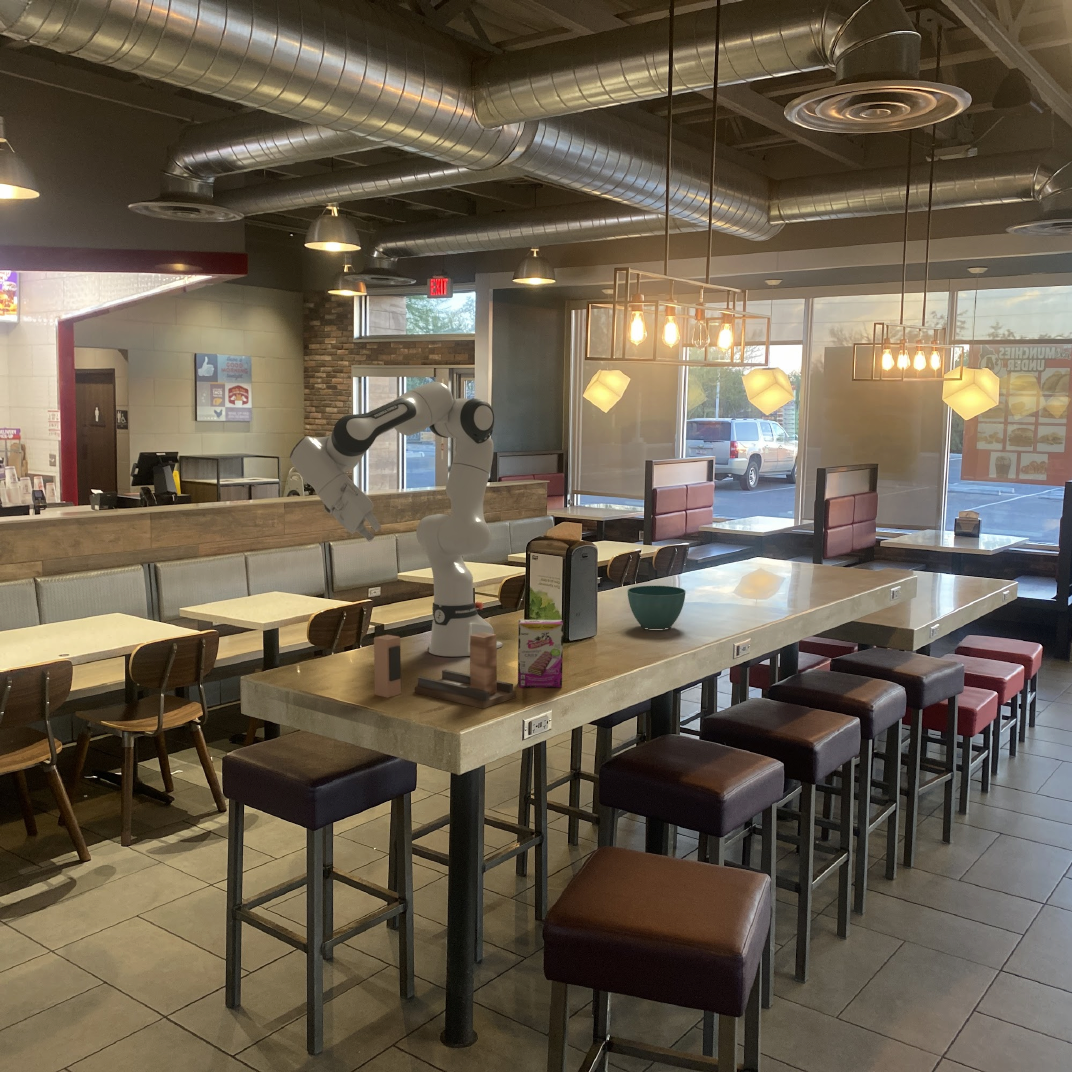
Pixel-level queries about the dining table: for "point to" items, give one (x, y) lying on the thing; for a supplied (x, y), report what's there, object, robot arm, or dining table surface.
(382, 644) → the tall tan pillar
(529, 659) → the candy bar box
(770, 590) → the dining table surface
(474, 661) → the wooden stand
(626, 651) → the dining table surface
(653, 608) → the dark green round bowl
